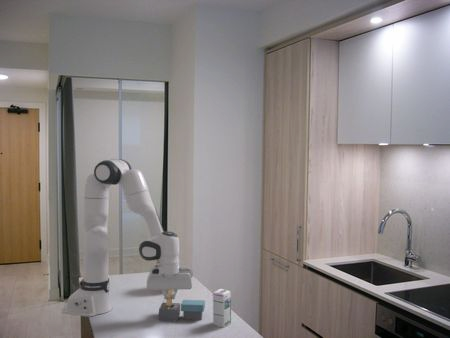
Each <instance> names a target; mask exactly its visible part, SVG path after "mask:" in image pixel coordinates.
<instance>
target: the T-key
mask: <svg viewBox="0 0 450 338" xmlns="http://www.w3.org/2000/svg"><path fill="white" fill-rule="evenodd" d="M167 294H168V295H167V299H165V300H166V302H165V303H166V305H167V307H171V308H172V303H173V299H172V294H174V293H173V290H168V293H167Z"/></svg>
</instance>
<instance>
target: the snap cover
mask: <svg viewBox="0 0 450 338" xmlns="http://www.w3.org/2000/svg"><path fill="white" fill-rule="evenodd" d="M205 308H206V300H205V299H204V300H202V299H201V300H200V299H199V300H198V299H197V300H196V299H182V301H181V302H180V312H183V311H194V312H202V313H204V310H205Z"/></svg>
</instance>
